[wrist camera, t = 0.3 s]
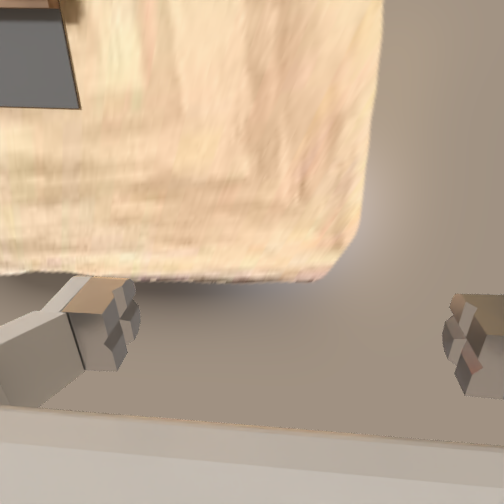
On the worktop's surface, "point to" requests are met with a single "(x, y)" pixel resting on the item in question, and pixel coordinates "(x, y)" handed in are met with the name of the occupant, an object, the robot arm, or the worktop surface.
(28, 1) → the brown wooden flat board
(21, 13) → the mat
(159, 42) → the worktop surface
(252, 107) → the worktop surface
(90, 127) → the worktop surface
